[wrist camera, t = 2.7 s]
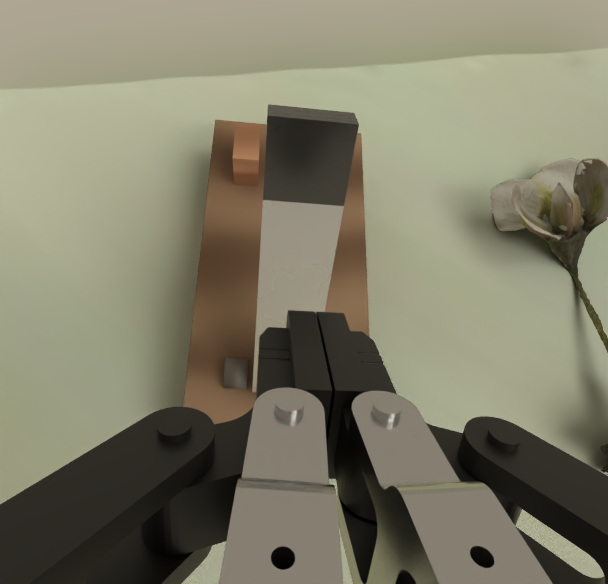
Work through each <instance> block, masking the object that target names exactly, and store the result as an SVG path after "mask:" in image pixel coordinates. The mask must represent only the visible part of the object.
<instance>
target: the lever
mask: <svg viewBox="0 0 608 584" xmlns="http://www.w3.org/2000/svg"><path fill="white" fill-rule="evenodd" d="M358 126H359V124H358V121H357V119H356V117H355V114H354V113H348V112H338V111H328V110H318V109H308V108H298V107H288V106H278V105H268V117H267V135H266V153H265V171H264V189H263V207H262V225H261V243H260V261H259V279H258V297H257V315H256V333H255V351H254V369H253V387H252V392H256V387H257V370H258V353H259V337H260V335H261V334H262V333H263V332H264V331H265V330H266V329H267V328H268V327H277V328H286V322H287V313H288V310H296V311H315V313H316V312H325V307H326V301H327V296H328V290H329V285H330V279H331V274H332V268H333V263H334V257H335V252H336V247H337V241H338V236H339V230H340V225H341V219H342V214H343V208H344V203H345V197H346V192H347V186H348V181H349V175H350V170H351V164H352V159H353V153H354V148H355V143H356V137H357V132H358Z"/></svg>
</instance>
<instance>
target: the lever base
mask: <svg viewBox="0 0 608 584" xmlns="http://www.w3.org/2000/svg"><path fill="white" fill-rule="evenodd" d="M266 135H267V125H265V124H255V123H244V122H234V121H223V120H215V128H214V137H213V145H212V154H211V163H210V172H209V181H208V190H207V199H206V208H205V217H204V225H203V234H202V243H201V252H200V261H199V270H198V279H197V288H196V296H195V305H194V314H193V323H192V332H191V341H190V350H189V359H188V368H187V376H186V385H185V394H184V403H183V407H189V408H194V409H197V410H200V411H202V412H204V413H205V414H207V415H208V416H209V417H210V418H211V419H212V421H213V423H214V424H218V423H223V422H227V421H231V420H234V419H237V418H239V417H241V416H243V415H244V414H246V413H247V412H249V411H250V410H251V409H252V407H253V406H254V403H255V401H256V392H252V387H253V369H254V351H255V333H256V315H257V297H258V279H259V261H260V243H261V225H262V207H263V189H264V171H265V153H266ZM325 312H336V313H344V314H345V317H346V320H347V323H348V326H349V329H350V331H362V332H364V333H365V334H366V335H367V336H368V337H369V320H368V295H367V270H366V244H365V219H364V194H363V168H362V143H361V134H360V133H357V137H356V143H355V148H354V153H353V159H352V164H351V170H350V175H349V181H348V186H347V192H346V197H345V203H344V208H343V214H342V219H341V225H340V230H339V236H338V241H337V247H336V252H335V257H334V263H333V268H332V274H331V279H330V285H329V290H328V296H327V301H326V307H325Z"/></svg>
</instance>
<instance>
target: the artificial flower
mask: <svg viewBox="0 0 608 584" xmlns="http://www.w3.org/2000/svg"><path fill="white" fill-rule="evenodd" d="M587 160H592V161H587ZM490 198H491V200H492V207H493V209H492V214H493V216H494V220H495V223H496V225H497V228H498V229H499V230H500V231H517V230H519V229H524V228H527V229H528V230H529V231H531V232H532V233H534V234H537V235H538V236H540V237H541V238H542V239H543V240H544V241H546V242H547V243H548V244H549V245H550V247H551V251H552V253H554V254H555V255H556V256H557V257H558V258H559V260H560V261H561V262H562V263H563V265H564V266H565V268H566V269H568V270H569V272H570V273H571V275H572V277H573V278H574V281H575V285H576V288H577V289H578V290H579V292H580V297H581V298H582V300H583V302H584V304H585V307H586V309H587V312H588V314H589V316H590V318H591V319H592V321H593V323H594V325H595V327H596V329H597V331H598V333H599V335H600V338H601V340H602V341H603V343H604V345H605V347H606V350H607V352H608V338H607V335H606V334H605V333H604V331H603V327H602V324H601V321H600V320H599V317H598V315H597V314H596V312H595V310H594V308H593V307H592V305H591V304H590V301H589V299H588V298H587V296H586V293H585V292H584V290H583V288H582V284H581V282H580V281H579V279H578V267H577V264H578V259H579V256H580V254H581V251H582V248H583V245H584V242H585V239H586V237H587V235H588V234H589V233H590V232H591V231H592V230H593V229H594V228H595V227H596V226H598V225H599V224H601V223H603V222H604V221H606V220H607V217H608V166H607V164H606V163H605V162H603V161H601V160H600V159H584V160H582V161H580V160H576V159H573V158H569V159H566V160H561V161H557V162H554V163H551V164H549V165H547V166H545V167H544V168H542V169H541V170H540V172H538V173H537V174H535V175H534V176H533V177H532V178H531V179H513V180H509V181H507V182H503V183H500V185H497V186H496V188H493V189H491V195H490ZM599 449H600V450H601V452H603V453H604V454H605V455H608V444H607V445H605V446H600V447H599ZM603 469H605V470H601V471H603V472H606V471H607V472H608V469H606V468H605V467H603ZM606 475H608V474H606Z"/></svg>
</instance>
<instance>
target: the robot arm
mask: <svg viewBox="0 0 608 584" xmlns="http://www.w3.org/2000/svg"><path fill="white" fill-rule="evenodd" d="M329 479H336V481H337V487H338V490H337V496H336V490H335V487H334V485H329ZM522 509H523V510H525V511H526V512H527V513H529V514H530V515H532V516H533V517H535V518H536V519H538V520H539V521H541V522H542V523H544V524H545V525H547V526H548V527H550V528H551V529H553V530H554V531H555V532H557V533H558V534H560V535H561V536H563V537H564V538H566V539H567V540H569V541H570V542H572V543H573V544H575V545H576V546H578V547H579V548H580V549H582V550H583V551H585V552H586V553H588V554H589V555H590V556H591V557H593V558H594V559H595V560H596V562H597V563H598V564H599V565H600V567H601V569H602V570H603V573H604V575H605V576H604V577H602V578H591V577H588V576H585V575H583V574H582V573H580V572H578V571H577V570H576V569H574V568H573V567H571V566H570V565H569V564H567V563H566V562H564V561H563V560H562V559H560V558H559V557H557V556H556V555H555V554H553V553H552V552H550V551H549V550H548V549H546V548H545V547H543V546H542V545H541V544H539V543H538V542H536V541H535V540H534V539H532V538H531V537H529V536H528V535H527V534H525V533H524V532H522V531H521V530H520V529H518V528H517V527H515V525H516V523H517V520H518V518H519V515H520V513H521V510H522ZM339 529H340V533H341V537H342V541H343V545H344V549H345V553H346V557H347V562H348V566H349V570H350V574H351V578H352V582H353V584H608V476H606V475H605V474H603V473H601V472H599V471H598V470H596V469H594V468H592V467H590V466H589V465H587V464H585V463H583V462H581V461H580V460H578V459H576V458H574V457H572V456H571V455H569V454H567V453H565V452H564V451H562V450H560V449H558V448H556V447H555V446H553V445H551V444H549V443H547V442H546V441H544V440H542V439H540V438H539V437H537V436H535V435H533V434H531V433H530V432H528V431H526V430H524V429H522V428H521V427H519V426H517V425H515V424H513V423H511V422H508V421H506V420H503V419H499V418H495V417H476V418H473V419H471V420H470V421H468V422H467V423H466V426H465V428H464V431H463V433H459V432H455V431H451V430H447V429H443V428H439V427H436V426H432V425H430V424H427V423H426V422H425V421H424V419H423V417H422V415H421V414H420V412H419V410H418V409H417V408H416V407H415V406H414V404H412V403H411V402H410V401H409V400H407V399H405V398H404V397H402V396H399V395H397V394H396V391H395V389H394V387H393V384H392V382H391V380H390V377H389V375H388V373H387V370H386V368H385V366H384V365H383V361H382V359H381V356H380V355H379V352H378V349H377V347H376V345H375V342H374V341H373V340H372V339H370V338H369V337H368V336H367V335H366V334H365V333H364V332H362V331H350V329H349V326H348V323H347V320H346V317H345V314H344V313H336V312H316V313H315V311H296V310H288V313H287V322H286V328H277V327H268V328H267V329H266V330H265V331H264V332H263V333H262V334H261V335H260V337H259V353H258V370H257V387H256V401H255V403H254V406H253V407H252V409H251V410H250V411H249V412H247V413H246V414H244V415H243V416H241V417H239V418H237V419H234V420H231V421H227V422H223V423H218V424H214V423H213V421H212V419H211V418H210V417H209V416H208V415H207V414H205V413H204V412H202V411H200V410H197V409H194V408H189V407H171V408H165V409H162V410H159V411H156V412H154V413H152V414H150V415H148V416H146V417H145V418H143V419H142V420H140V421H138V422H137V423H135V424H133V425H132V426H130V427H128V428H127V429H125V430H123V431H122V432H120V433H118V434H117V435H115V436H113V437H112V438H110V439H108V440H107V441H105V442H103V443H102V444H100V445H98V446H97V447H95V448H93V449H92V450H90V451H88V452H87V453H85V454H83V455H82V456H80V457H78V458H77V459H75V460H74V461H72V462H70V463H69V464H67V465H65V466H64V467H62V468H60V469H59V470H57V471H55V472H54V473H52V474H50V475H49V476H47V477H45V478H44V479H42V480H40V481H39V482H37V483H35V484H34V485H32V486H30V487H29V488H27V489H25V490H24V491H22V492H20V493H19V494H17V495H15V496H14V497H12V498H10V499H9V500H7V501H6V502H4V503H2V504H1V505H0V584H181V583H182V582H183V581H184V580H185V579H186V578H187V577H188V576H189V575H190V574H191V573H192V572H193V571H194V570H195V569H196V568H197V567H198V566H199V565H200V564H201V563H202V562H203V560H204V559H205V558H206V557H207V555H208V554H209V552H210V550H211V547H212V545H215V544H218V543H221V542H224V541H226V546H225V552H224V557H223V563H222V569H221V574H220V580H219V584H343V575H342V562H341V549H340V536H339Z"/></svg>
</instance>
